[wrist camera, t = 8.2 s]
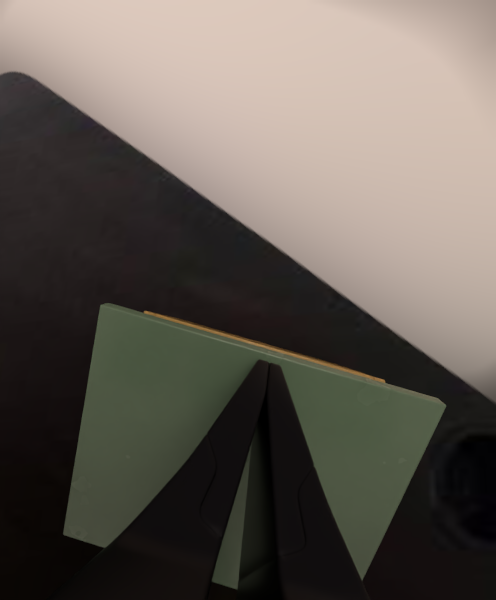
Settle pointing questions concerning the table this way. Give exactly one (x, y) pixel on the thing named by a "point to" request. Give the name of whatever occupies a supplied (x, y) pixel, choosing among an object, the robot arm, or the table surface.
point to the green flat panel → (205, 410)
